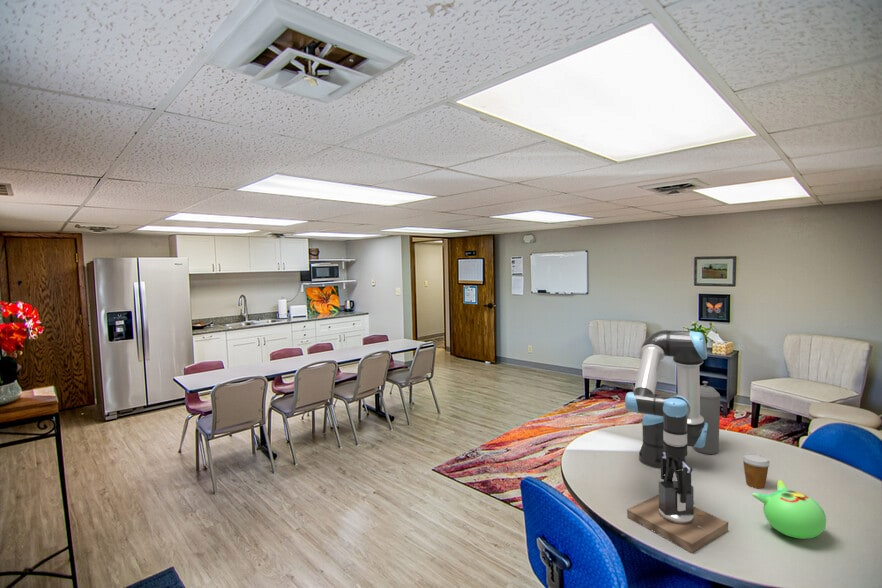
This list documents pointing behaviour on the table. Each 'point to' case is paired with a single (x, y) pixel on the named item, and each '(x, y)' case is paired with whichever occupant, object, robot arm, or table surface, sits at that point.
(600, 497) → the table surface
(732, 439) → the table surface
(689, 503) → the dial
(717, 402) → the canister
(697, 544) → the dial panel
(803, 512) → the toy bird
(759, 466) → the disposable coffee cup
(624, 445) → the table surface
